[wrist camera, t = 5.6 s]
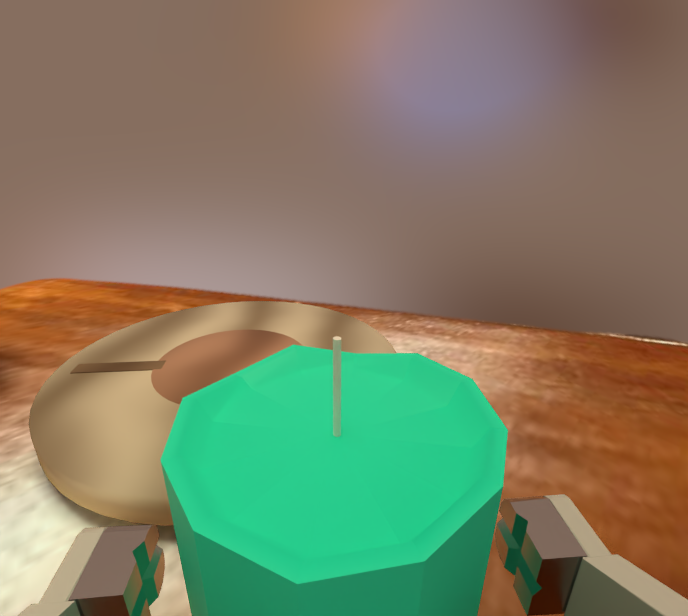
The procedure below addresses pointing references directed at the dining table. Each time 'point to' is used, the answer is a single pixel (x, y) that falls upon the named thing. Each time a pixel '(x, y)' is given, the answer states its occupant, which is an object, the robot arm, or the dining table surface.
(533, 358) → the dining table surface
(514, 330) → the dining table surface
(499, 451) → the candle
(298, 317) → the turntable
